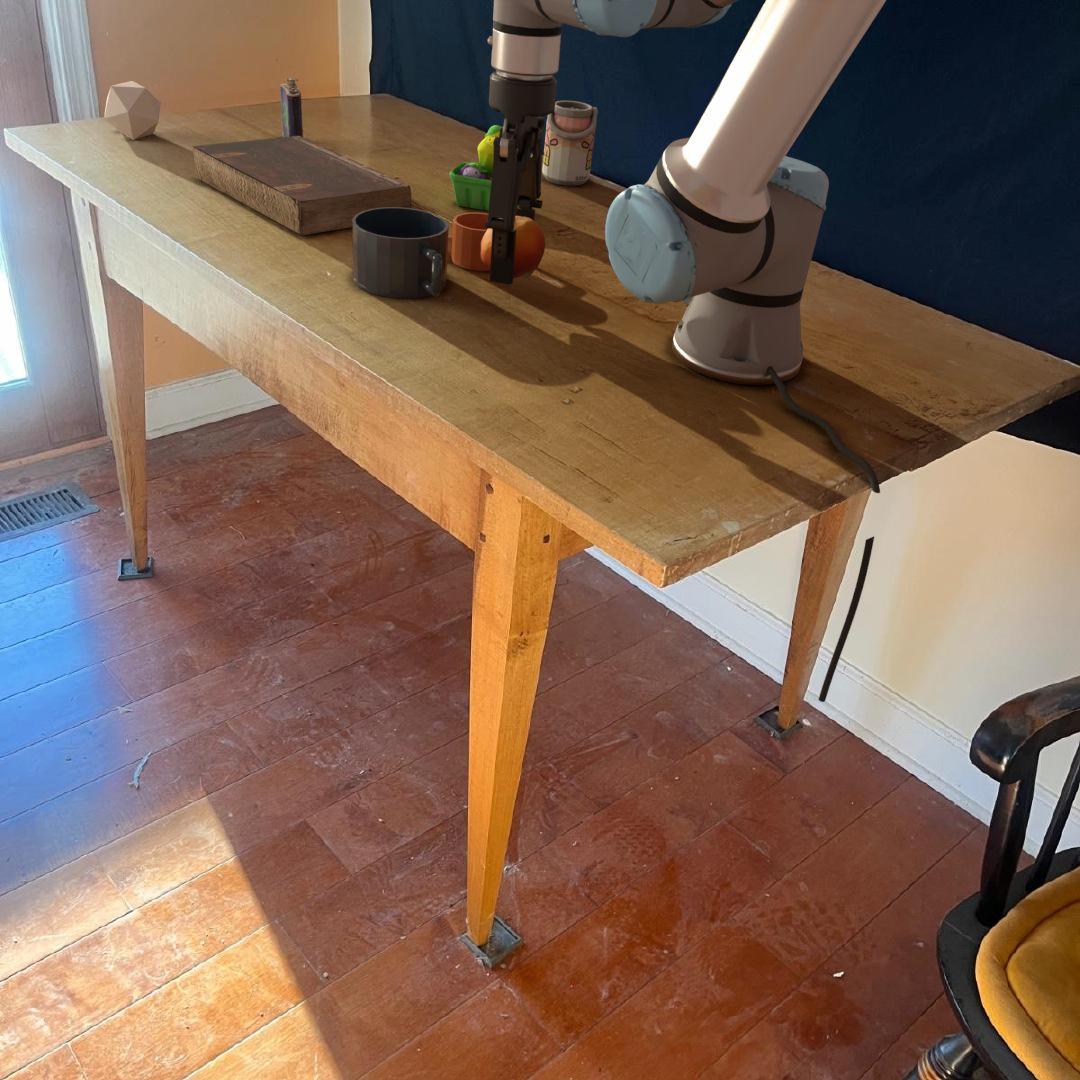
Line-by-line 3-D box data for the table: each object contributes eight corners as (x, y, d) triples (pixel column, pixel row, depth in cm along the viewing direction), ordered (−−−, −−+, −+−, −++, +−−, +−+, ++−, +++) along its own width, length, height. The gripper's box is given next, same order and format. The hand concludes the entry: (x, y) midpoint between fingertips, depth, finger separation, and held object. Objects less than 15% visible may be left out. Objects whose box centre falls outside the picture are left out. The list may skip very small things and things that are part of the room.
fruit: (551, 279, 123) (522, 217, 120) (494, 303, 126) (464, 243, 123) (564, 258, 130) (536, 198, 127) (509, 281, 133) (481, 223, 130)
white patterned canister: (590, 191, 172) (599, 115, 165) (540, 185, 172) (547, 110, 165) (589, 175, 180) (597, 102, 173) (541, 170, 179) (548, 97, 172)
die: (172, 144, 173) (171, 85, 174) (131, 124, 165) (130, 63, 166) (135, 154, 177) (133, 97, 177) (92, 135, 169) (91, 75, 169)
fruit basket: (446, 206, 158) (449, 130, 152) (463, 191, 165) (467, 117, 159) (517, 219, 157) (524, 142, 150) (531, 203, 164) (538, 129, 157)
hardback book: (410, 217, 153) (411, 182, 150) (301, 238, 141) (300, 201, 138) (301, 164, 169) (300, 132, 166) (196, 179, 157) (192, 146, 155)
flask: (280, 137, 181) (278, 71, 175) (297, 137, 182) (295, 72, 176) (289, 152, 174) (287, 84, 168) (307, 152, 175) (305, 85, 169)
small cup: (489, 275, 137) (492, 234, 133) (442, 262, 139) (443, 222, 136) (522, 253, 144) (525, 214, 141) (476, 242, 147) (479, 203, 143)
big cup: (336, 270, 133) (335, 212, 129) (417, 258, 139) (418, 203, 135) (394, 315, 123) (395, 254, 119) (478, 300, 129) (482, 241, 125)
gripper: (516, 55, 124) (505, 241, 137) (463, 84, 107) (455, 293, 120) (577, 63, 123) (559, 250, 136) (532, 94, 106) (517, 304, 119)
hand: (511, 270), depth 128 cm, fingers closed on fruit, 8 cm apart
